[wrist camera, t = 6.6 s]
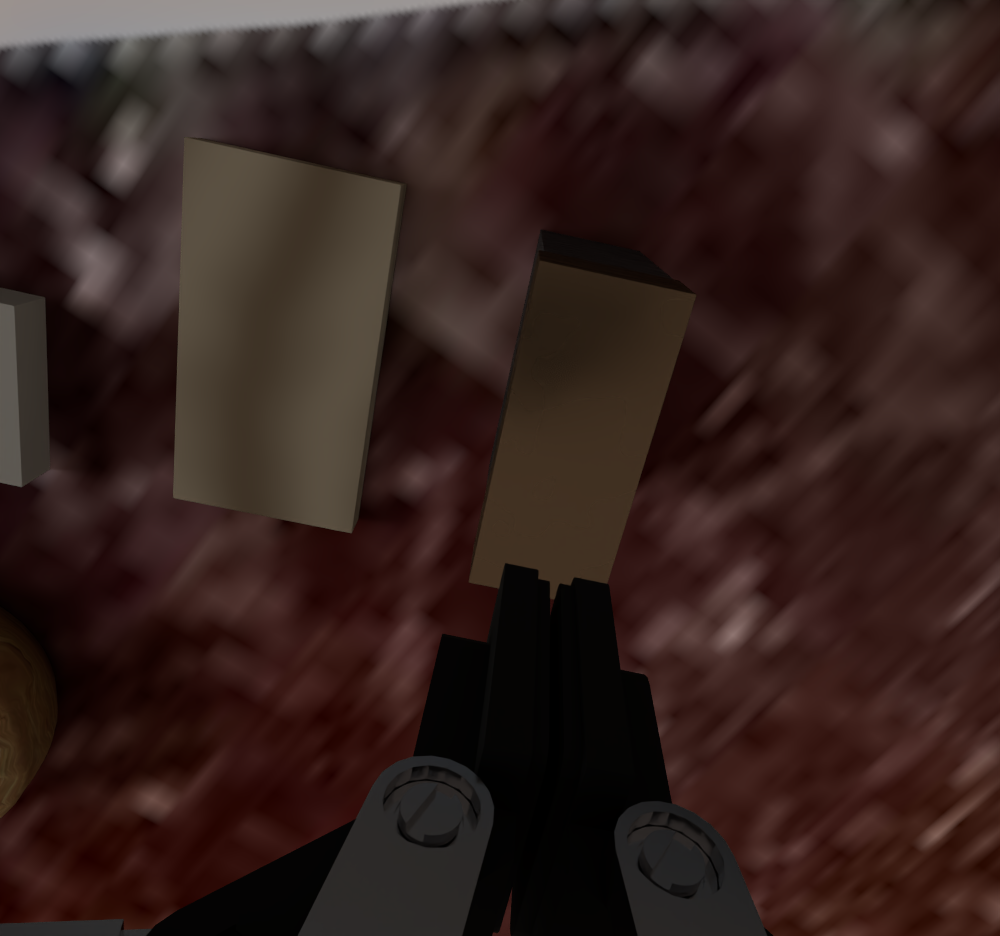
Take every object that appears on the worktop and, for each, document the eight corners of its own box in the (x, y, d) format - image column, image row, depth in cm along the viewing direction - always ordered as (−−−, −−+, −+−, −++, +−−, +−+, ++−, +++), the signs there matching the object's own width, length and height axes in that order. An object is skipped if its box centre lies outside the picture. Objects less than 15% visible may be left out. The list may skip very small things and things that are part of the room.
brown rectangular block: (643, 251, 25) (696, 295, 17) (579, 482, 29) (599, 607, 21) (536, 228, 25) (539, 260, 17) (485, 463, 29) (468, 582, 21)
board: (407, 183, 25) (401, 185, 23) (358, 519, 30) (351, 533, 28) (200, 138, 24) (184, 136, 23) (186, 485, 29) (173, 497, 28)
